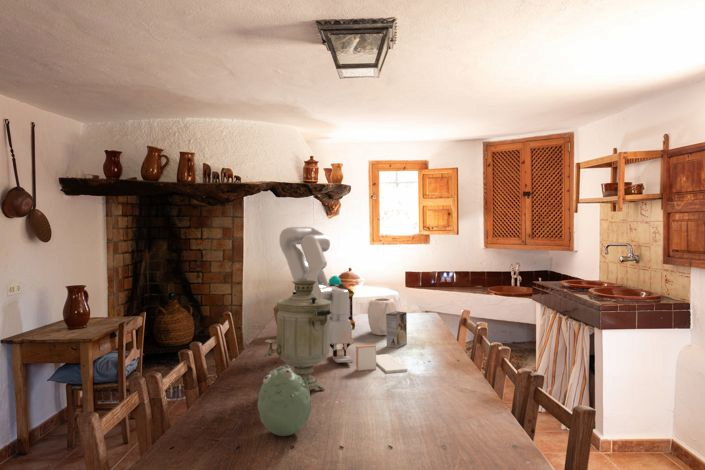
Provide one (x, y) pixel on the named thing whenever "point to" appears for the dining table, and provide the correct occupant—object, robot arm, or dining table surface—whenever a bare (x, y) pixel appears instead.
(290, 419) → the pale green egg shape
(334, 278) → the decorative lantern
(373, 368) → the tile
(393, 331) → the coffee box
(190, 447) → the dining table surface
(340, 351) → the turner
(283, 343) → the samovar
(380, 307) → the white faceted vase
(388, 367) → the board
